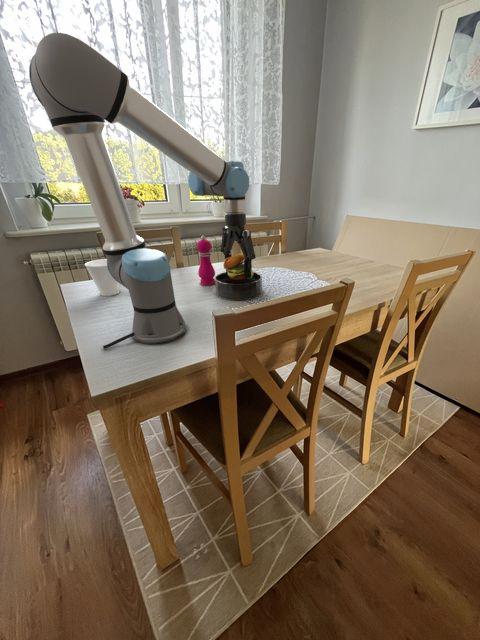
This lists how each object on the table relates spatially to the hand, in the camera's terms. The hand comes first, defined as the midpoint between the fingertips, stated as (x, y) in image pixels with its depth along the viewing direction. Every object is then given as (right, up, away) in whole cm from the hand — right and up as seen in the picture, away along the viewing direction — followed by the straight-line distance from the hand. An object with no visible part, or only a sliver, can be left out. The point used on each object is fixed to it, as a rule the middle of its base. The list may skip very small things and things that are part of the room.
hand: (238, 274), depth 115 cm
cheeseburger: (0, -1, 0) cm, 1 cm away
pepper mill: (-15, 0, +15) cm, 21 cm away
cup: (-53, -7, +4) cm, 53 cm away
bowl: (0, -7, +4) cm, 8 cm away
